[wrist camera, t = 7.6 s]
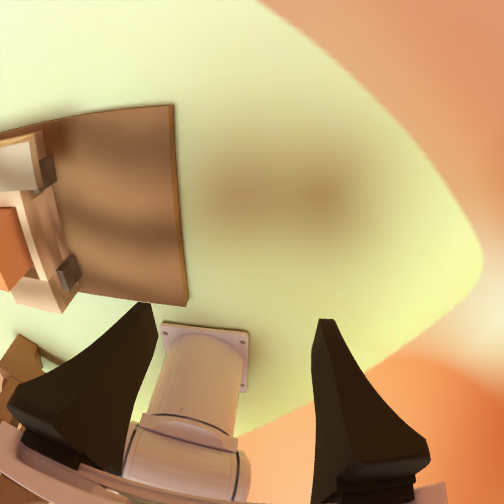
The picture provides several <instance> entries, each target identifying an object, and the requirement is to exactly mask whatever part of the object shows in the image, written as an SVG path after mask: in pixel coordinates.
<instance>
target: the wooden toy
mask: <svg viewBox="0 0 504 504" xmlns="http://www.w3.org/2000/svg"><path fill="white" fill-rule="evenodd" d="M42 368H43V366H42V362H41V359H40V354H39V350H38V346H37V345H36V344H34V343H33V342H31V341H29V340H28V339H26V338H24V337H23V336H21V335H20V334H18V336H17V337H16V338H15V340H14V341H13V343H12V344H11V346H10V347H9V349H8V350H7V352H6V353H5V355H4V356H3V358H2V359H1V361H0V373H1V375H2V376H3V377H4V379H3V383H2V392H1V394H0V424H1V422H2V421H5V422H7V423H8V424H10V425H12V426H14V427H15V428H17V427H18V425H19V423H20V422H19V421H18V420H17V419H16V418H15V417H14V416H13V415H12V414H11V413H10V412H9V411H8V409H7V403H8V401H9V399H10V398H11V396H12V394H13V392H14V390H15V389H16V387H17V385H18V384H21V383H24V382H27V381H29V380H32V379H34V378H37V377H39V376H41V375H43V374H45V372H44V371H43V370H42ZM25 429H26V428H25V427H24V426H23V425H22V427H21V429H20V431H22V432H23V433H24V431H25ZM0 473H1V475H0V504H48V503H49V502H48V501H47V500H45V499H43V498H41V497H39V496H38V495H36V494H34V493H33V492H31V491H29V490H28V489H26V488H24V487H23V486H21V485H20V484H18V483H16V482H15V481H13V480H12V479H10V478H9V477H7V476H6V475H4V474H3V473H2V472H0Z"/></svg>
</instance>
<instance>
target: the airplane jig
mask: <svg viewBox="0 0 504 504" xmlns="http://www.w3.org/2000/svg"><path fill="white" fill-rule="evenodd" d="M0 207H16V210H17V213H18V217H19V220H20V224H21V227H22V230H23V233H24V237H25V240H26V243H27V246H28V249H29V252H30V254H31V257H32V260H33V263H34V265H33V266H32V267H31V268H30V269H29V270H28V272H27V273H26V274H25V275H24V276H23V277H22V278H21V279H20V280H19V281H18V282H17V284H16V285H15V286H14V287H13V288H12V289H11V292H12V295H13V297H14V299H15V301H16V303H18V304H22V305H26V306H30V307H34V308H38V309H42V310H46V311H50V312H54V313H58V314H62V313H63V312H64V310H65V309H66V308H67V306H68V305H69V303H70V302H71V301H72V299H73V298H74V296H75V295H76V294H77V292H82V293H88V294H94V295H100V296H107V297H113V298H120V299H127V300H134V301H142V302H149V303H157V304H165V305H173V306H182V307H186V305H187V302H188V299H189V297H188V289H187V281H186V272H185V264H184V254H183V245H182V235H181V224H180V213H179V201H178V187H177V173H176V156H175V135H174V106H173V105H167V106H153V107H141V108H130V109H121V110H113V111H105V112H98V113H91V114H85V115H78V116H73V117H67V118H62V119H57V120H52V121H47V122H42V123H38V124H33V125H29V126H25V127H21V128H17V129H13V130H9V131H6V132H2V133H0Z"/></svg>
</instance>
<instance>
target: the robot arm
mask: <svg viewBox="0 0 504 504" xmlns="http://www.w3.org/2000/svg"><path fill="white" fill-rule="evenodd" d="M165 331H166V332H165ZM160 332H161V336H162V340H163V344H164V348H165V352H166V358H165V361H164V363H163V366H162V369H161V372H160V375H159V378H158V381H157V384H156V386H155V389H154V392H153V395H152V398H151V401H150V404H149V407H148V410H147V413H143V414H142V417H141V420H140V423H138V422H135V421H131V422H130V419H131V415H132V411H133V407H134V403H135V400H136V397H137V394H138V392H139V389H140V387H141V384H142V382H143V379H144V377H145V374H146V372H147V369H148V367H149V365H150V362H151V360H152V357H153V354H154V351H155V347H156V343H157V339H158V332H157V328H156V324H155V320H154V316H153V312H152V307H151V304H150V303H143V302H138V303H137V304H135V305H134V306H133V307H132V308H131V309H130V310H129V311H128V312H127V313H126V314H125V315H124V316H123V317H122V318H120V319H119V320H118V321H117V322H116V323H115V324H114V325H113V326H112V327H111V328H110V329H109V330H108V331H106V332H105V333H104V334H103V335H102V336H101V337H100V338H98V339H97V340H96V341H95V342H94V343H92V344H91V345H90V346H89V347H87V348H86V349H85V350H83V351H82V352H81V353H79V354H78V355H76V356H75V357H73V358H72V359H70V360H69V361H67V362H65V363H64V364H62V365H60V366H59V367H57V368H55V369H53V370H51V371H50V372H48V373H45V374H43V375H41V376H39V377H37V378H34V379H32V380H29V381H27V382H24V383H21V384H18V385H17V387H16V389H15V390H14V392H13V394H12V396H11V398H10V399H9V401H8V403H7V409H8V411H9V412H10V413H11V414H12V415H13V416H14V417H15V418H16V419H17V420H18V421H19V422H20V423H21V424H22V425H23V426H24V427H25V428H26V429H25V431H24V433H23V432H22V431H20V430H19V429H17V428H15V427H14V426H12V425H10V424H8V423H7V422H5V421H2V422H1V424H0V472H2V473H3V474H4V475H6V476H7V477H9V478H10V479H12V480H13V481H15V482H16V483H18V484H20V485H21V486H23V487H24V488H26V489H28V490H29V491H31V492H33V493H34V494H36V495H38V496H39V497H41V498H43V499H45V500H47V501H48V502H50V503H52V504H263V503H249V502H246V501H247V497H248V494H249V489H250V482H251V464H250V461H249V459H248V458H247V456H246V454H245V452H244V451H242V450H237V445H238V439H237V438H234V437H233V432H234V425H235V418H236V411H237V404H238V397H239V392H246V391H247V377H248V344H249V335H248V334H247V333H246V332H241V331H230V330H220V329H210V328H201V327H193V326H185V325H177V324H169V323H162V324H161V325H160ZM241 340H243V341H241ZM311 374H312V384H313V393H314V403H315V413H316V444H315V463H314V476H313V486H312V495H311V503H310V504H448V501H447V495H446V487H445V482H439V483H435V484H431V485H427V486H423V487H420V488H417V489H414V488H413V484H414V483H415V482H416V477H415V474H416V473H418V472H419V471H420V470H422V469H423V468H425V467H426V466H427V465H428V464H429V463H430V461H431V458H430V452H429V448H428V445H427V442H426V439H425V438H423V437H422V436H421V435H420V434H418V433H417V432H416V431H415V430H413V429H412V428H411V427H410V426H408V425H407V424H406V423H405V422H404V421H403V420H402V419H401V418H400V417H399V416H398V415H397V414H396V413H395V412H394V411H393V410H392V409H391V408H390V407H389V406H388V405H387V404H386V402H385V401H384V400H383V399H382V398H381V397H380V395H379V394H378V393H377V392H376V390H375V389H374V388H373V386H372V385H371V384H370V382H369V381H368V380H367V378H366V377H365V375H364V374H363V372H362V370H361V369H360V367H359V366H358V364H357V362H356V361H355V359H354V357H353V356H352V354H351V352H350V350H349V348H348V347H347V345H346V343H345V341H344V339H343V337H342V335H341V333H340V331H339V329H338V326H337V324H336V322H335V320H334V319H319V321H318V325H317V330H316V334H315V338H314V342H313V346H312V350H311Z"/></svg>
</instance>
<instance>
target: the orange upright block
mask: <svg viewBox="0 0 504 504" xmlns="http://www.w3.org/2000/svg"><path fill="white" fill-rule="evenodd" d="M33 265H34V263H33V260H32V257H31V254H30V252H29V249H28V246H27V243H26V240H25V237H24V233H23V230H22V227H21V224H20V220H19V217H18V213H17V210H16V207H0V290H4V291H8V292H10V290H11V289H12V288H13V287H14V286H15V285H16V284H17V282H18V281H19V280H20V279H21V278H22V277H23V276H24V275H25V274H26V273H27V272H28V270H29V269H30V268H31V267H32V266H33Z"/></svg>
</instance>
